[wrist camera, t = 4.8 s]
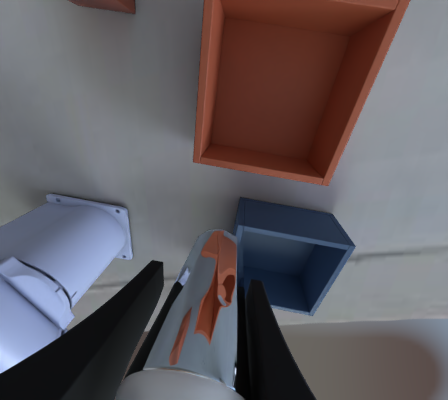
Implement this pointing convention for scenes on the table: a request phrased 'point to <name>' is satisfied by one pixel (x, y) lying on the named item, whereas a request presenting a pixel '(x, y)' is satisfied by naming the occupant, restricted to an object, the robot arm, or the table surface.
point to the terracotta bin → (287, 81)
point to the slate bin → (291, 252)
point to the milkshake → (197, 331)
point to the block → (108, 5)
